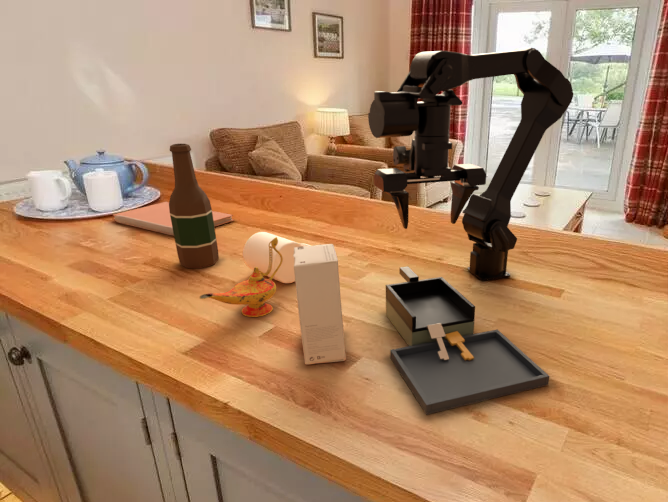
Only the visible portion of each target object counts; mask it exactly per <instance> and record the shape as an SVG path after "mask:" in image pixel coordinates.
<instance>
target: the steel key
mask: <svg viewBox="0 0 668 502" xmlns="http://www.w3.org/2000/svg"><path fill="white" fill-rule="evenodd" d="M427 329H428V332H429V335H430V338H431V340H433V339H436V341H437V344H438V347H439V350H440V351H438V352H437V354H438V357H439V359H440V360H443V361H447V360H449V356H448V354H447V351H446V348H445V346H444V343H443V340H442V338H444V337H446V335H445V333H444V330H443V327H442V324H441V323H438V324H432V325H427Z"/></svg>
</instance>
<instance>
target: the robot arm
mask: <svg viewBox="0 0 668 502" xmlns="http://www.w3.org/2000/svg"><path fill="white" fill-rule="evenodd" d="M511 75H513V76H514V78H515V83H516V87H517V88H518V90H519V92H521V94H522V95H523V96H522V98H521V102H520V121H519V123H518V125H517V127H516V129H515V131H514V133H513V135H512V137H511V140H510V142H509V144H508V146H507V148H506V150H505V152H504V154H503V156H502V158H501V160H500V162H499V164H498V166H497V168H496V170H495V172H494V174H493V176H492V178H491V180H490V183H489V184H488V186H487V188H486V190H484V191H483V192H481V194H476V193H474V192H475V191H479V189H480V187H479V186H485V185H487V172H486V170H485V168H484V167H482V166H479V165H476V164H474V163H459V164H458V163H457V164H454V165H453V166H452V168H451V167H450V166H449V153H450V151H449V150H453V142H451V141H450V127H451V126H450V125H451V107H452V106H462V105H463V100H461V98H460V97H458V95H456V93H455V91H454V90H453V89H456V88H459V87H461V86H463V85H464V84H466V83H468V82H470V81H473V80H479V79H486V78H494V77H502V76H511ZM440 92H442V93H441V94H439V93H440ZM373 93H374V94H373V95H374V96H373V97H374V98H373V101H372V102H371V104H370V107H369V112H368V114H367V118H368V127H369V130H370V132H371V134H372V135H373V137H374V138H375V139H384V138H401V137H410V136H412V135H413V133H414V138H413V139H411V146H410V149H407V147H406V146H405V145H399V146H398V145H397V146H394V147H393V150H392V159H393V160H392V161H393V165H394V168H392V167H391V168H378V169H376V170H375V172H374V175H373V186H374V187H376V188H377V189H379V190H380V191H382V192H384V193H385V194H387V195H388V196H390V197H391V198H392V200H393V203H394V204H395V207H396V210H397V213H398V216H399V220H400V222H401V225H402V228H403V229H405V230H408V228H409V227H408V226H409V214H410V213H409V211H410V209H409V207H410V205H409V203H410V202H409V201H410V198H409V197H410V193H409V192H408V191H407V190H405V189H406V188H407V187H408V185H416V184H417V185H418V184H430V183H443V182H450V188H451V192H452V193H451V202H450V203H451V205H450V223H451V224H453V225H455V224H456V223H457V221H458V219H459V217H460V216H461V213H462V214H463V216H462V219H461V224H462V227H463V230H464V232H465V233H466V235H467V238H468V240H469V241H472V242H473V243H472V251H470V255H469V266H467V271H468V272H470V273H471V274H472V275H473V276H474V277H476V278H477V279H478V280H480V281H482V282H485V281H492V280H498V279H505V278H506V279H507V278H510V277H511V273H510V272H508V271H507V267H508V266H507V265H508V258H509V257H508V256H509V251H510V250H514V249H515V246H516V244H517V241H518V238H517V236H516V235H515V234H514V233H513V232H512V230H511V229H510V228H509V223H510V222H511V218H512V208H511V207H512V206H511V202H512V199H513V197H514V195H515V193H516V191H517V189H518V187H519V185H520V183H521V180H522V179H523V177H524V175H525V173H526V171H527V169H528V166H529V165H530V163H531V161H532V159H533V157H534V155H535V153H536V150H537V149H538V147H539V145H540V143H541V141H542V139H543V137H544V135H545V133H546V131H547V130H548V129H549V128H550V127H551V126H553V125H554V124H556V122H558V121H559V120H561V118H562V117H563V115H564V114H565V112H566V111H567V109H569V106H570V105H571V103H572V102H573V99H574V90H573V86H572V83H571V81H570V79H568V78H566V77H565V75H564V74H563V73H562V71H561V70H560V69H559V68H557V67H556V66H554V65H553V64H552V63H551V62H549V61H548V60H547V59H546V58H545V57H544V55H543V54H542V53H541V52H540V51H539V49H536V48H535V47H521V48H520V47H519V48H515V49H514V50H504V51H496V52H495V51H494V52H485V53H484V52H483V53H475V54H474V53H473V54H466V53H463V52H456V51H451V50H450V51H448V50H434V51H431V50H430V51H421V52H418V53H417V54H415V56H414V58H413V59H412V61H411V63H410V67H409V72H408V73H407V75H406V76H405V78H404V80H403V81H402V83H401V85H400V86H399V87H398V89H397V91H396V92H395V91H394V92H390V91H381V90H375V91H374V92H373ZM420 99H422V100H421V101H418V100H420ZM397 167H403V170H401V169H399V168H397ZM464 207H465V208H464Z"/></svg>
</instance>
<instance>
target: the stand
mask: <svg viewBox="0 0 668 502" xmlns="http://www.w3.org/2000/svg"><path fill="white" fill-rule="evenodd" d="M385 317H387V319H388V320H389V321H390V323H391V324H392V325H393V327H394V328H395V329H396V331H397V332H398V334H399V335H400V336H401V338H402V339H403V340H404V342H405V343H406V344H407V347H408V346H413V345H418V344H423V343H429V342H434V341H436V339H433V340H431V338H430V335H429V332H428V330H423V331H417V332H412V331H411V330H410V329H409V328H408V326H407V325H406V324H405V323H404V321H403V320H402V319H401V317H400V316H399V315H398V314H397V312H396V311H395V310H394V309H393V307H392V306H391V305H390V303H389V302H388V301H387V300H386V299H385ZM443 330H444V333H445V334H448V333H452V332H455V331H458V332H459V334H460V335H461V336H465V335H470V334H475V333H474V332H475V331H474V330H475V320H474V321H472V322H467V323H461V324H456V325H450V326H445V327H443ZM444 339H446V338H445V337H444V338H442V340H444Z"/></svg>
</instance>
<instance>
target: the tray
mask: <svg viewBox="0 0 668 502" xmlns="http://www.w3.org/2000/svg"><path fill="white" fill-rule="evenodd" d="M462 337H463V338H464V340H465V342H463V344H464V346H465V347H466V348H467V349H468V351H469V352H470V353H471V354H472V355H473V357H474V359H473V360H470V361H469V360H464V359H463V357H462V356H461V353H462V351H461V350H460V349H459V348H458V346H457V345H453V346H452V345H451V344H450V343H449V342H448V340H447V339H444V340H443V343H444V346H445V348H446V351H447V354H448V356H449V360H447V361H443V360H440V359H439V357H438V354H437V352H438V351H440V350H439V347H438V344H437V341H434V342H429V343H423V344H418V345H413V346H408V345H407V346H403V347H398V348H391V349H389V352H390V353H389V354H390V356H389V358H390V360H391V361H392V363H393V365H394V367H395V368H396V369H397V371H398V372H399V374H400V375H401V378H402V379H403V380H404V382H405V384H406V385H407V387H408V388H409V390H410V391H411V393H412V394H413V396H414V398H415V399H416V402H418V404H419V406H420V407H421V409H422V410H423V412H424V414H425V415H426V416H428V415H431V414H435V413H440V412H443V411H447V410H451V409H456V408H460V407H464V406H469V405H472V404H475V403H480V402H485V401H489V400H493V399H496V398H500V397H504V396H509V395H513V394H517V393H521V392H525V391H529V390H533V389H538V388H542V387H546V386H549V384H550V383H549V382H550V377H551V376H550V375H549V374H548V373H547V372H546V371H545V370H544V369H542V368H541V367H540V366H539V365H538V364H537V363H536V362H534V361H533V360H532V358H530V357H529V356H528V355H527V354H526V353H525V352H524V351H522V350H521V349H520V347H518V346H517V345H516V344H515V343H514V342H513V341H511V340H510V339H509V338H508V337H507V336H506V335H505V334H504V333H502V332H501V331H500V330H499V329H498V328H497V329H492V330H487V331H481V332H477V333H473V334H470V335H465V336H462Z"/></svg>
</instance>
